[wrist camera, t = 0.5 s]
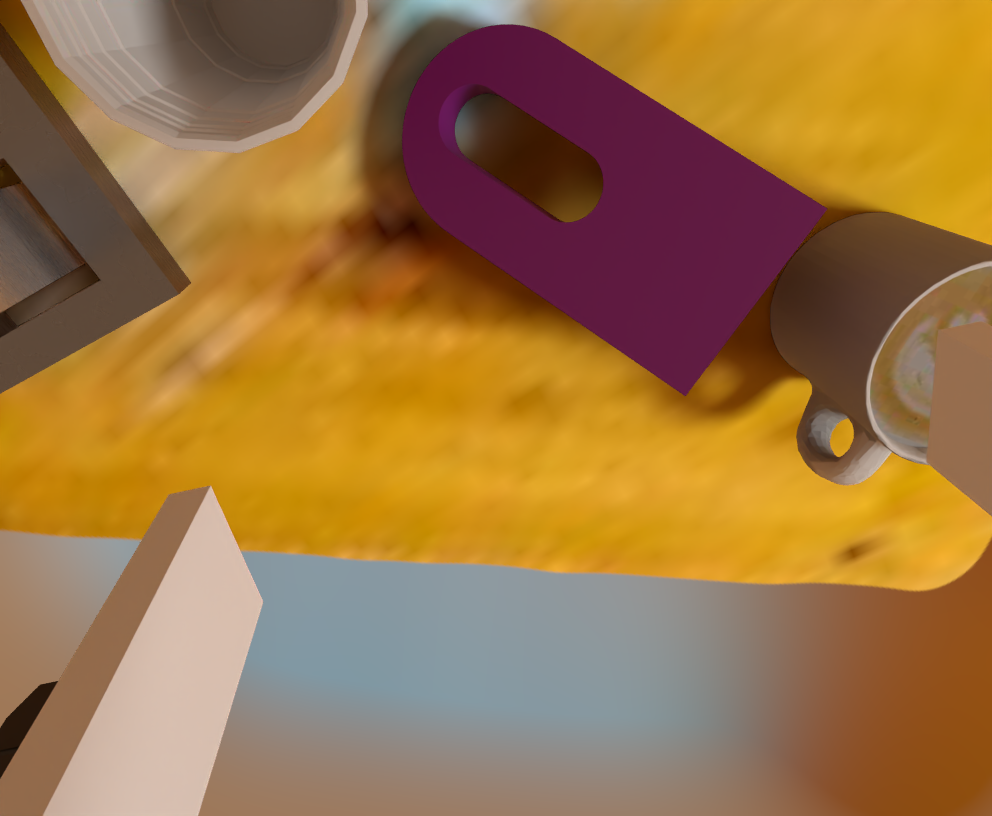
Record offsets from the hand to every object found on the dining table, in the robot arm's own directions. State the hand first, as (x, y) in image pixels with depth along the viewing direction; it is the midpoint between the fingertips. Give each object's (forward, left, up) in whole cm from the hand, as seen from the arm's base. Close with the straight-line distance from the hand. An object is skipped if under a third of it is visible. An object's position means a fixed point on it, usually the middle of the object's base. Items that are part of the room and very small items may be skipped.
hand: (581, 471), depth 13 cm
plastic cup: (-13, -4, -27) cm, 30 cm away
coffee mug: (+15, +15, -27) cm, 34 cm away
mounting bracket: (+1, +5, -27) cm, 27 cm away
